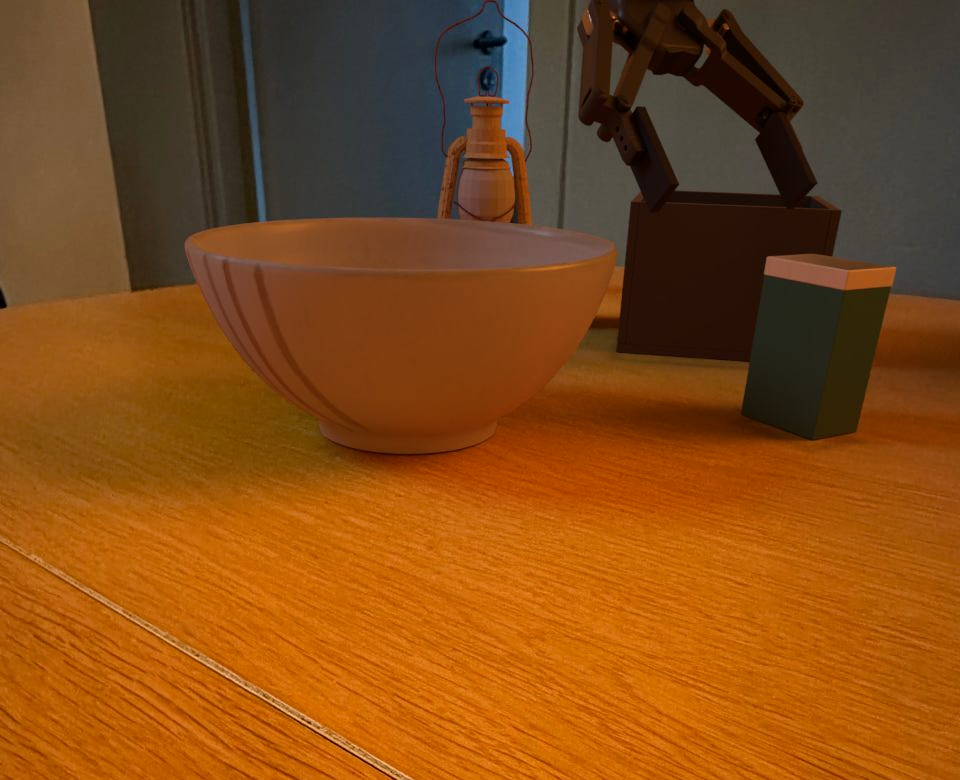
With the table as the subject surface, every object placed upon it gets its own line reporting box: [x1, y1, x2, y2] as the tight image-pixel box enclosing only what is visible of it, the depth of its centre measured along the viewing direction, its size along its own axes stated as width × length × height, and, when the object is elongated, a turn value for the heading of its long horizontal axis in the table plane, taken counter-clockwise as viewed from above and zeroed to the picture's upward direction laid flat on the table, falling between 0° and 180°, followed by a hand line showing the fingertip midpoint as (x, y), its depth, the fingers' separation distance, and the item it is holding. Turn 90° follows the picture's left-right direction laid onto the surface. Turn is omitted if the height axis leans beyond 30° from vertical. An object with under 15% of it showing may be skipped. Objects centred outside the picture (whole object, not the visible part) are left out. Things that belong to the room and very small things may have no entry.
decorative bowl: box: [184, 217, 619, 455], centre depth 60 cm, size 27×27×12 cm
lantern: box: [433, 0, 535, 225], centre depth 105 cm, size 12×10×30 cm
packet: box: [740, 254, 897, 441], centre depth 63 cm, size 5×7×11 cm, turn 30°
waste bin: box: [615, 189, 843, 362], centre depth 87 cm, size 18×18×13 cm
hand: (736, 197), depth 66 cm, fingers open, 13 cm apart
